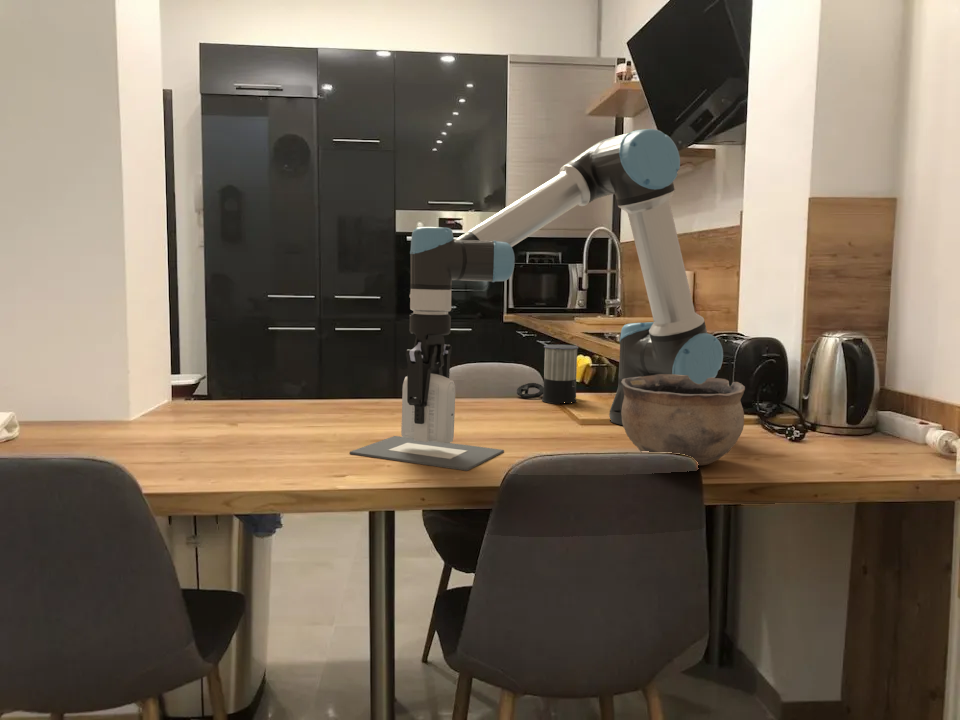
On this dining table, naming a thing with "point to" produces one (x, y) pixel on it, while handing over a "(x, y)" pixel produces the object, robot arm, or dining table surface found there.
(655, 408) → the ceramic bowl
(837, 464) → the dining table surface
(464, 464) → the mat
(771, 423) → the dining table surface
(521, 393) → the milk frother
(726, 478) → the dining table surface
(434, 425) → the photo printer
